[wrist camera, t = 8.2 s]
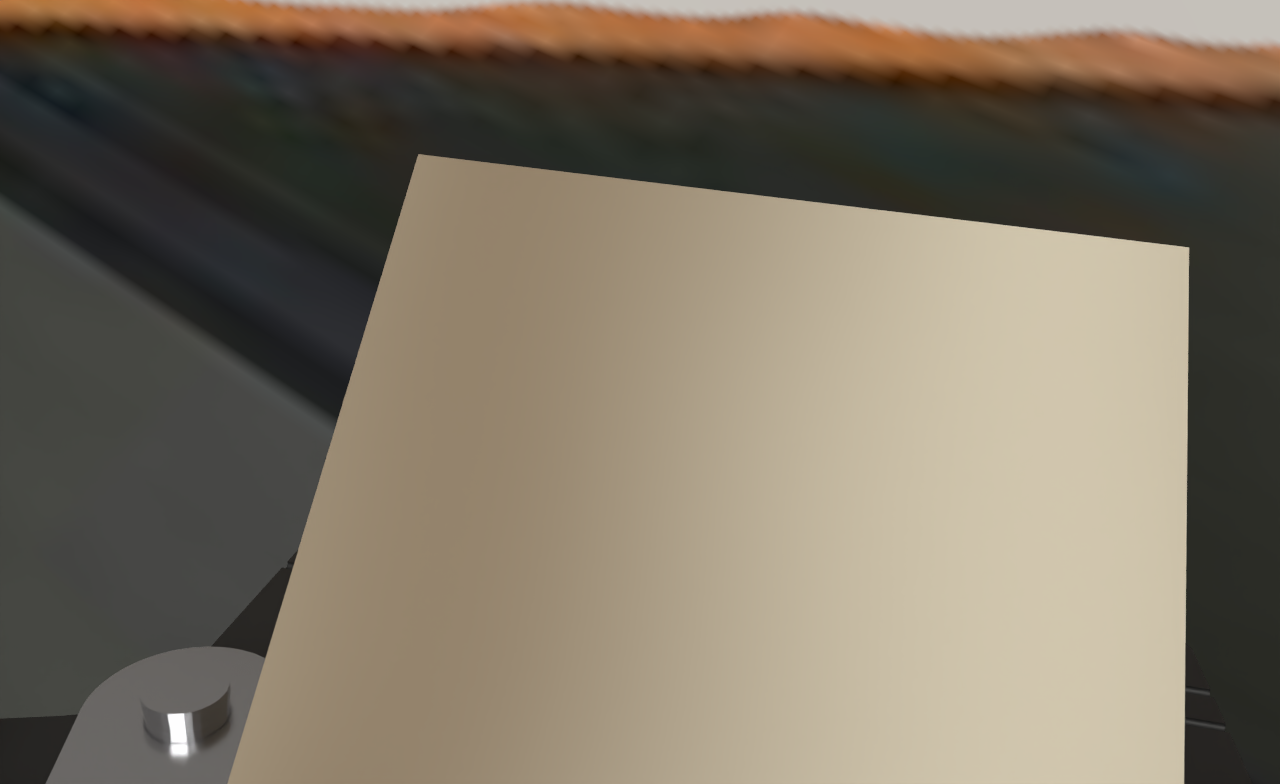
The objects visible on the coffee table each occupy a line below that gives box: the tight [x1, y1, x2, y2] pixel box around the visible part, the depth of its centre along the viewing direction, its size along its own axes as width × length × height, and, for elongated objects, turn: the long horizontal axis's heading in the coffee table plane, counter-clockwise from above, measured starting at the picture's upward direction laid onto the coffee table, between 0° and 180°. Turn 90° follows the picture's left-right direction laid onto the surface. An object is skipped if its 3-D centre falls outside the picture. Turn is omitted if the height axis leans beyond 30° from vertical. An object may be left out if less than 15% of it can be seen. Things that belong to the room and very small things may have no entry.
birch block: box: [227, 154, 1189, 784], centre depth 11 cm, size 5×5×10 cm
